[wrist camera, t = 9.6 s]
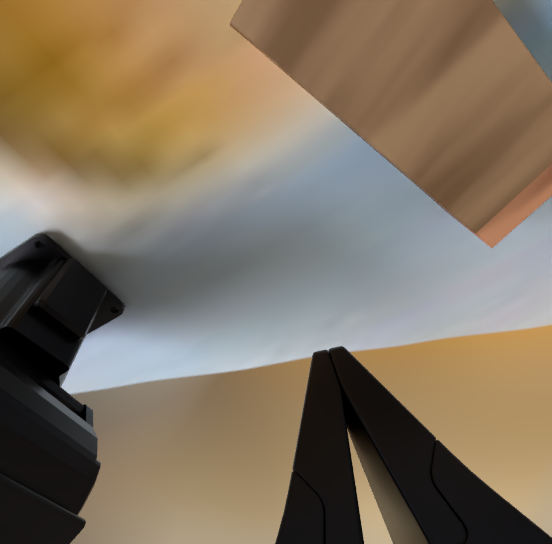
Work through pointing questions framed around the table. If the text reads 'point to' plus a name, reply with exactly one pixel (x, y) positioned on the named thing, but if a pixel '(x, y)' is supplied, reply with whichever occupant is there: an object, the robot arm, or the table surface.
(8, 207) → the table surface
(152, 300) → the table surface
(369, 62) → the walnut pillar
